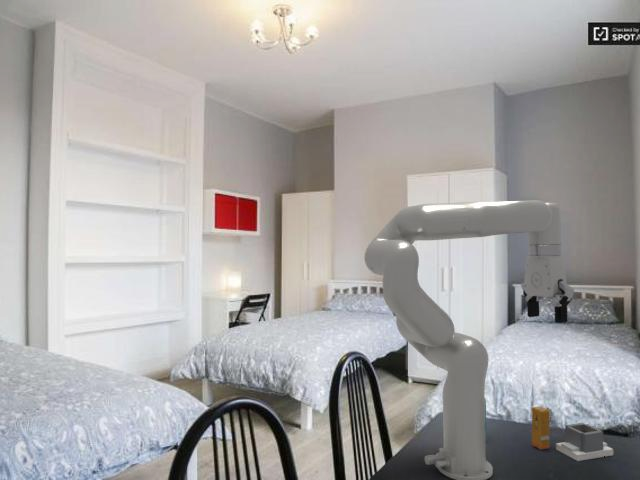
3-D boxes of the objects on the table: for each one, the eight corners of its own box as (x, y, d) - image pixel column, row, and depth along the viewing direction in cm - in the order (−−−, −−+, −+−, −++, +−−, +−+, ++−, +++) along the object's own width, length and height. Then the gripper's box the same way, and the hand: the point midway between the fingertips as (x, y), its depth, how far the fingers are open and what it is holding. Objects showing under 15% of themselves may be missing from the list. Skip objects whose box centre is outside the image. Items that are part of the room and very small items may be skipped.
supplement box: (551, 448, 125) (550, 409, 125) (540, 450, 124) (539, 411, 124) (541, 443, 128) (541, 405, 128) (531, 445, 127) (530, 407, 127)
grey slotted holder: (577, 461, 117) (577, 436, 117) (556, 449, 124) (555, 426, 124) (613, 455, 120) (612, 431, 120) (590, 443, 127) (590, 421, 127)
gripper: (509, 251, 129) (511, 315, 129) (557, 252, 112) (560, 326, 112) (533, 250, 131) (535, 313, 131) (584, 251, 114) (586, 323, 114)
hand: (546, 319), depth 122 cm, fingers open, 9 cm apart
